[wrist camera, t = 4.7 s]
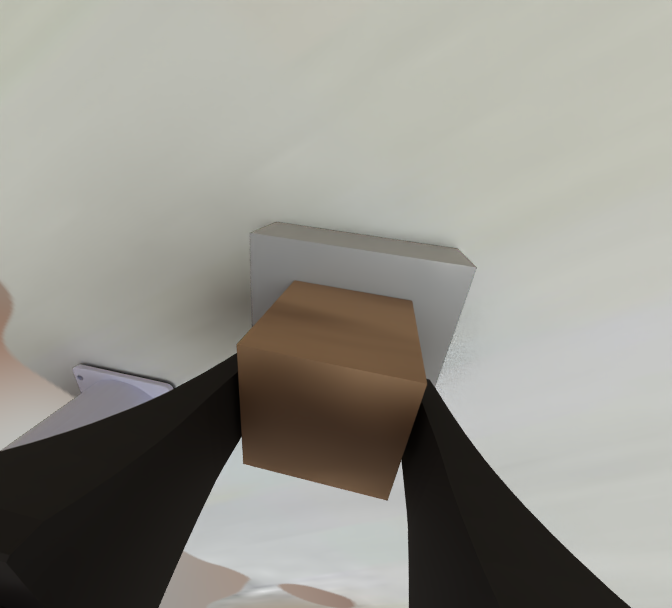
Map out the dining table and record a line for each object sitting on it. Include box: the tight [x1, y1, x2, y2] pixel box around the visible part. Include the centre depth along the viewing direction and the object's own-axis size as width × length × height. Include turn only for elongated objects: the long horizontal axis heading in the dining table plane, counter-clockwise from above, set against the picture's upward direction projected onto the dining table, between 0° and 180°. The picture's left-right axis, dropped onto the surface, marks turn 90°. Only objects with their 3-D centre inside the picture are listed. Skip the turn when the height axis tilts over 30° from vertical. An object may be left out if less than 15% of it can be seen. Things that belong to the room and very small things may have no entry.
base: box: [250, 222, 477, 387], centre depth 14 cm, size 9×9×3 cm
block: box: [237, 280, 427, 500], centre depth 10 cm, size 5×5×5 cm
